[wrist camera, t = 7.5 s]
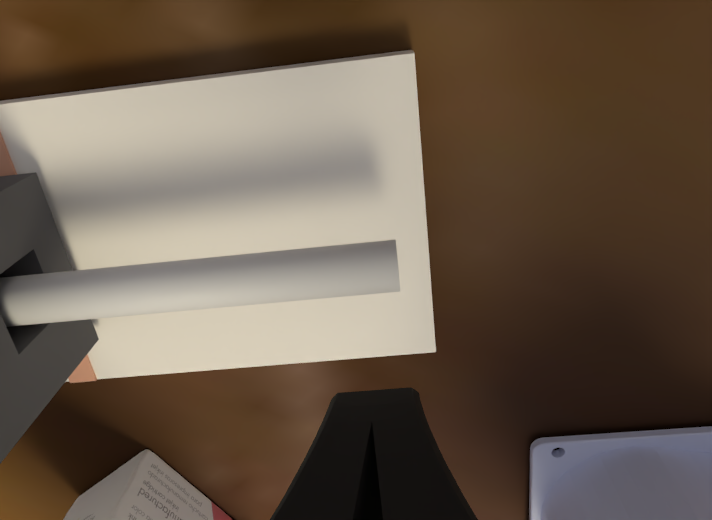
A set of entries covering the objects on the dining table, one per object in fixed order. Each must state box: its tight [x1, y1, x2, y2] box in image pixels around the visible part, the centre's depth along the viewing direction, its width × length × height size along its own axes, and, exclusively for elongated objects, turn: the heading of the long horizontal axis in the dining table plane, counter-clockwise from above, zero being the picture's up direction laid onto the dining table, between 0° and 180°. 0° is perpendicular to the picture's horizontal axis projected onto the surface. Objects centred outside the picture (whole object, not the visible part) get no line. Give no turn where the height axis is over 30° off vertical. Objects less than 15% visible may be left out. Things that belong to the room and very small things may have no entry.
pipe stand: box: [0, 50, 436, 383], centre depth 16 cm, size 20×10×8 cm, turn 97°
